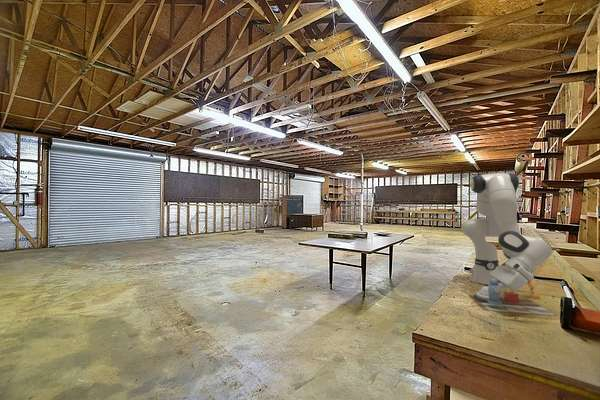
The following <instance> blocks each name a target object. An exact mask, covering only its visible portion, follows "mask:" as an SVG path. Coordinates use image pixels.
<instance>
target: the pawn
mask: <svg viewBox="0 0 600 400" xmlns="http://www.w3.org/2000/svg"><path fill="white" fill-rule="evenodd" d="M489 283H490V284H488V285H487V286H488V288H489V299H487V302H488V303H491V304H495V305H501V304H502V301H501V300H500V297H501V296H500V295H501V293H500V292H501V291H499V292H498V293H497V292H495V291H494V290H493V288H495V287H497V286H499V285H498V281H497V280H496V279H494V278H492V279H490V280H489Z"/></svg>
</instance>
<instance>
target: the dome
mask: <svg viewBox="0 0 600 400" xmlns="http://www.w3.org/2000/svg"><path fill="white" fill-rule="evenodd" d="M475 294H476V296H477V297H479V298H481V299H486V300H487V299H489V288H488V285H486V286H485V285H484V286H482V287H481V289H479V290H478V291H475Z"/></svg>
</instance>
